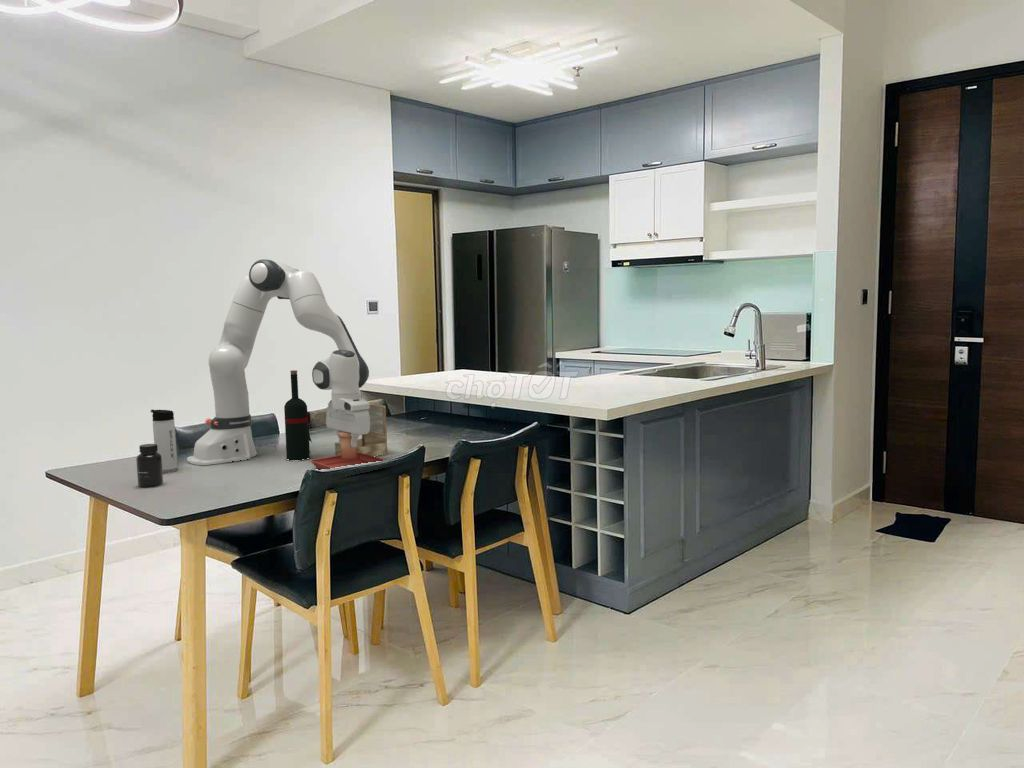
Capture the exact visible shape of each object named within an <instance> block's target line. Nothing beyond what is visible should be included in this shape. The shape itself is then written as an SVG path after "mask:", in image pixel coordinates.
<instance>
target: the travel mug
mask: <svg viewBox="0 0 1024 768" xmlns="http://www.w3.org/2000/svg"><path fill="white" fill-rule="evenodd" d="M150 413H152V415H151V416H152V429H153V430H152V431H153V444H157V449H158V451H157V453H159V454H161V456H162V470H163V474H169V473H168V472H171V473H173V472H174V471H175V472H177V471H178V469H179V467H178V454H177V439H176V426H175V414H174V413H175V412H174V411H173V410H169V409H151V410H150ZM175 472H174V473H175Z"/></svg>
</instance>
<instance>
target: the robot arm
mask: <svg viewBox="0 0 1024 768" xmlns="http://www.w3.org/2000/svg"><path fill="white" fill-rule="evenodd" d="M275 297H276V298H277V299H278V300H289V301H290V305H291V308H292V313H293V315H294V317H295V319H296V321H297V323H298V324H299V325H301V326H302V327H304V328H306V329H308V330H310V331H313V332H314V331H315V332H318V333H321V334H324V335H326V336H328V337H330V339H332V340H333V341H334V343H335V345H336V347H337V350H334V351H332V352H331V353H330V356H328V357H327V358H326V359H322V360H320V361H317V362H316V363H315V365H314V366H313V368H312V372H311V374H312V375H311V376H312V382H313V384H314V385H315V386H316V387H317V388H318V389H320V390H325V391H328V390H331V393H330V394H331V397H330V398H331V399H330V401H329V402H328V403H327V407H326V412H325V425H326V427H327V429H330V430H335V434H336V435H337V438H338V442H339V444H340V437H339V436H338V432H339V431H343V432H348V433H351V436H352V438H351V441H349V442H350V447H356V446H357V440H358V439H359V437H360V436H362V435H364V434H368V433H369V430H370V416H369V412H368V410H366V409H369V408H370V404H371V403H370V402H369V401H367V400H366V399H365V398H364V397H363V396H362V395H361V390H360V389H361V388H362V387H363V386H364V385H365V384H366V383H367V381H368V379H369V377H370V369H369V367H368V365H367V363H366V361H365V359H364V358H363V357H362V355H361V354H360V352H359V350H358V349H357V347H356V344H355V342H354V340H353V338H352V335H351V334H350V332H349V330H348V328H347V327H346V324H345V321H343V319H342V317H340V316H339V315H338V314H337V313H335V312H334V311H333V310H332V308H331V307H330V306H329V304H328V303H327V300H326V298H325V294H324V292H323V290H322V286H321V285H320V282H319V281H318V279H317V277H316V275H315V274H314V273H313V272H311V271H309V270H303V269H302V270H299V269H298V268H297V269H296V268H293V266H290V265H288V264H285V263H280V262H276V261H274V260H272V259H259V260H256V261H255V262H254V263H253V264H252V265H251V266H250V268H249V271H248V275H246V276H245V277H244V278H243V279H242V281H241V282H240V284H239V285H238V287H237V290H236V291H235V294H234V296H233V298H232V301H231V304H230V307H229V309H228V312H227V315H226V317H225V321H224V323H223V329H222V334H221V337H220V339H219V340H220V341H219V343H218V346H217V347H216V348H214V349H213V350H212V351H211V353H210V354H209V357H208V366H209V374H210V379H211V385H212V390H213V396H214V411H215V416H214V418H213V419H212V418H206V419H205V421H204V422H205V424H206V425H209V426H210V429H209V430H208V431H206V432H205V433H204V434H203V435H202V436H201V437H200V438H199V439H198V440H196V441H195V443H194V446H193V447H194V448H193V455H191V456H188V457H187V458H186V460H187V461H186V462H187V463H189V464H192V465H195V466H197V465H198V466H211V465H217V464H218V465H219V464H225V463H233V462H232V461H234V462H240V460H241V461H248V460H250V459H251V458H253V457H255V456H256V455H257V454H258V453H257V450H256V447H255V445H254V444H255V443H254V440H253V434H252V429H253V428H252V427H253V423H252V421H253V420H252V415H251V413H250V401H249V391H248V387H247V386H248V385H247V379H246V378H247V377H246V372H245V370H246V368H247V366H248V364H249V362H250V358H251V355H252V353H253V349H254V345H255V342H256V338H257V335H258V332H259V329H260V327H261V324H262V322H263V321H262V320H263V318H264V315H265V313H266V310H267V306H268V304H269V302H270V301H271V300H272V298H275ZM247 459H248V460H247Z"/></svg>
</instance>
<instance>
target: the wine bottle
mask: <svg viewBox="0 0 1024 768" xmlns="http://www.w3.org/2000/svg"><path fill="white" fill-rule="evenodd" d="M289 372H290V386H291V398H290V399H289V400H287V401H286V402H285V405H284V408H283V410H284V431H285V450H286V452H285V453H286V460H287V459H289V460H302V459H307V458H310V459H311V449H310V442H311V443H313V440H312V438H311V436H310V435H311V434H310V427H309V424H310V423H311V412H310V411H308V405H307V403H306V402H305V400H303V399H302V398H300V397H299V384H298V383H299V381H298V379H299V378H298V370H289ZM307 460H308V459H307ZM302 461H303V460H302Z"/></svg>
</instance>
